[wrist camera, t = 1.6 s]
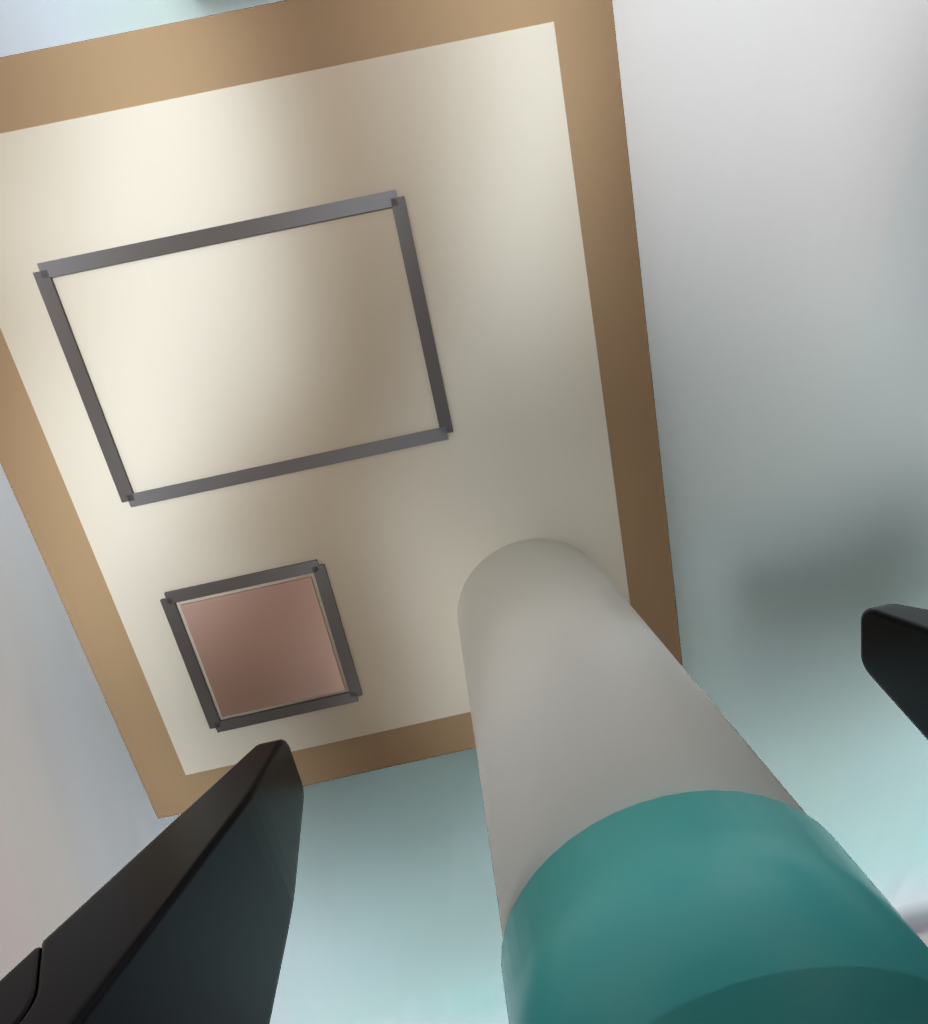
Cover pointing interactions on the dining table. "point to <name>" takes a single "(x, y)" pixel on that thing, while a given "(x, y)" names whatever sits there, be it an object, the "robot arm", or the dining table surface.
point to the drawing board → (320, 360)
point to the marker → (652, 829)
